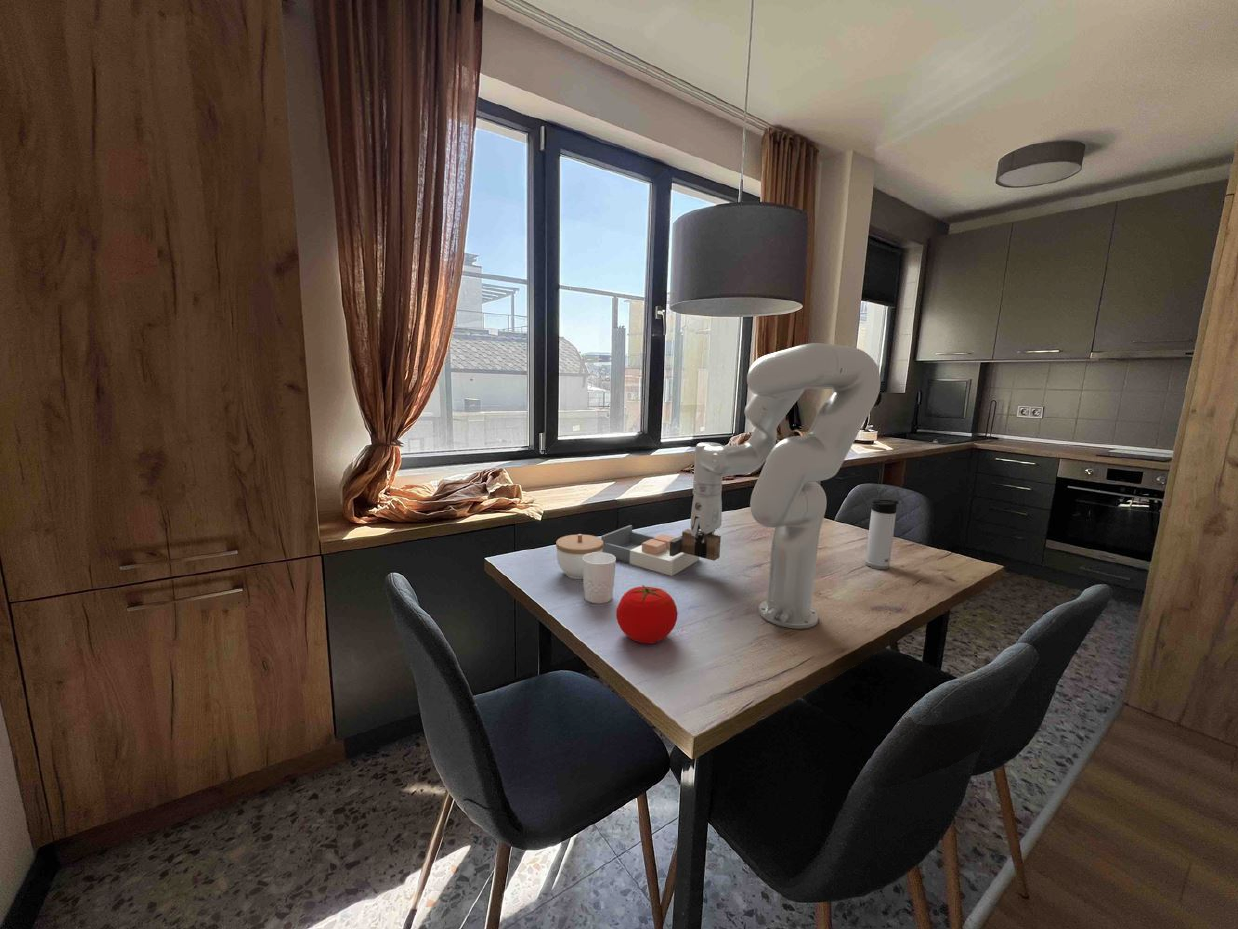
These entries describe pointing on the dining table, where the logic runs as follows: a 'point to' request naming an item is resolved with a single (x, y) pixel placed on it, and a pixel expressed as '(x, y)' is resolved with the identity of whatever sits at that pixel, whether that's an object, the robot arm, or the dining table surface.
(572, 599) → the dining table surface
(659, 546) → the tile
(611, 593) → the white cup
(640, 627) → the tomato
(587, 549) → the lidded bowl
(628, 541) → the tray
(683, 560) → the board
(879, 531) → the travel mug
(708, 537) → the scraper
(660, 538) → the tile
